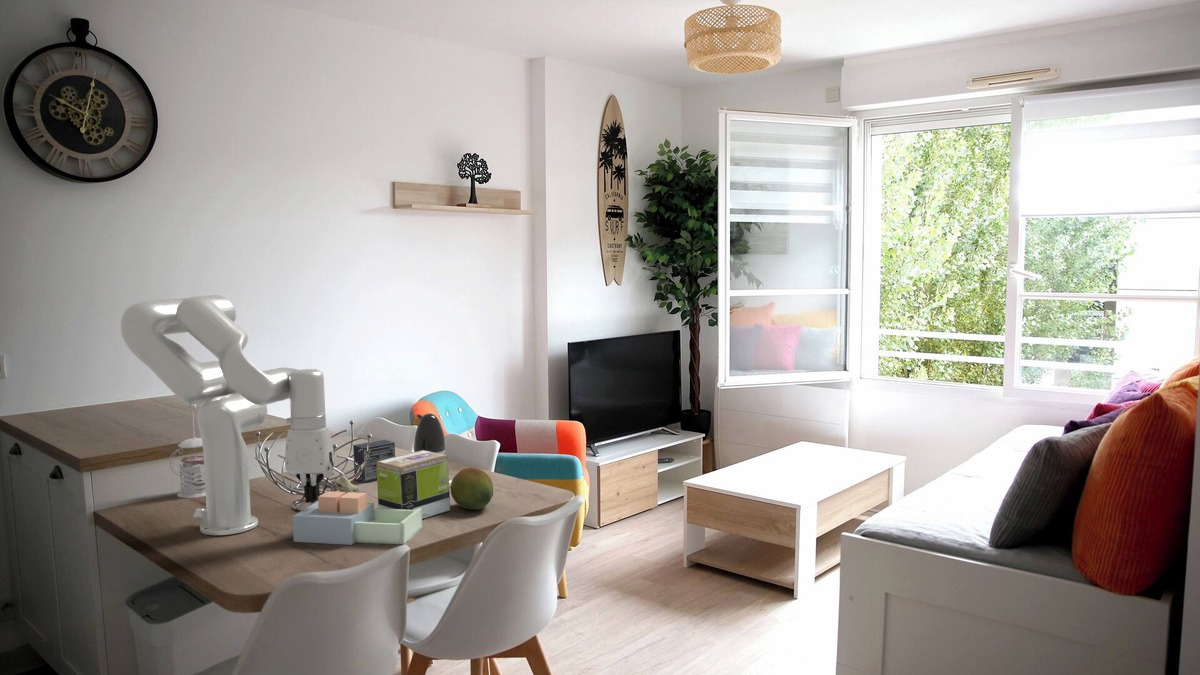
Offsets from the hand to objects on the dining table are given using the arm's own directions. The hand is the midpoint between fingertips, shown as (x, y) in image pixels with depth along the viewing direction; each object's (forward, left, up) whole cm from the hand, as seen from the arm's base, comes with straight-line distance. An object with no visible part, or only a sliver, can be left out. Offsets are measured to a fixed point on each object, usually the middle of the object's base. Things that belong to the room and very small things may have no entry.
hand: (312, 501), depth 188 cm
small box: (-7, +49, -8) cm, 50 cm away
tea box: (+18, +17, -8) cm, 26 cm away
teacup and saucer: (+16, +42, -8) cm, 45 cm away
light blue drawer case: (+5, 0, -8) cm, 9 cm away
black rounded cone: (+1, +72, -8) cm, 72 cm away
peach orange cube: (+10, 0, -2) cm, 10 cm away
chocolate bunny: (0, +15, -8) cm, 17 cm away
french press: (-50, +27, -8) cm, 57 cm away
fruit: (+31, +25, -8) cm, 41 cm away
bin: (+18, +1, -8) cm, 20 cm away
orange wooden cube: (+5, 0, -2) cm, 5 cm away
